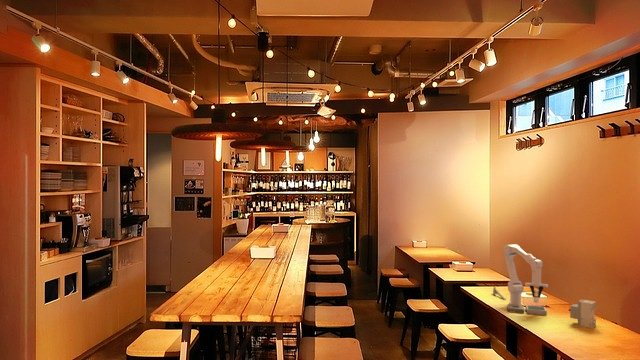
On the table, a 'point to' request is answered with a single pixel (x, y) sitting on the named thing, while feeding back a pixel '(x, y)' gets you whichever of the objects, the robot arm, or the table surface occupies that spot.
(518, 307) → the fuse holder
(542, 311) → the parts tray
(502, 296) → the caliper
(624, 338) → the table surface
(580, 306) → the circuit breaker
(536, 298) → the fuse
